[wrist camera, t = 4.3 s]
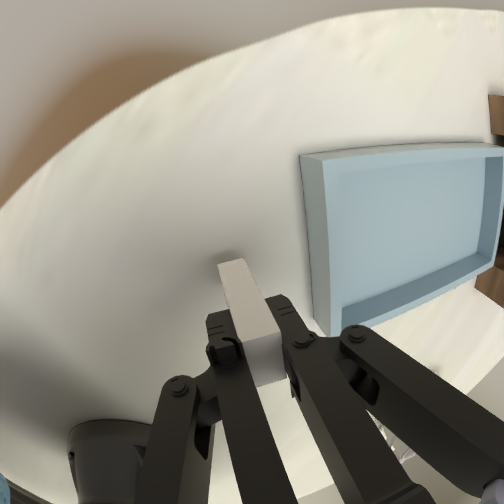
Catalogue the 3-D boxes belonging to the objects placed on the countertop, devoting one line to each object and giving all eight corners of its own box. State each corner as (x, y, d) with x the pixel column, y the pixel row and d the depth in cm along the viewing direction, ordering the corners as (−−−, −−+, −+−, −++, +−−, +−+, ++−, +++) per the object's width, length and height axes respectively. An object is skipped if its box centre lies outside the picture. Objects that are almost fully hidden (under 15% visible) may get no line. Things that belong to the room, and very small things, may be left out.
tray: (313, 318, 21) (330, 342, 19) (299, 155, 16) (321, 160, 14) (473, 254, 24) (493, 266, 22) (482, 142, 19) (506, 147, 16)
